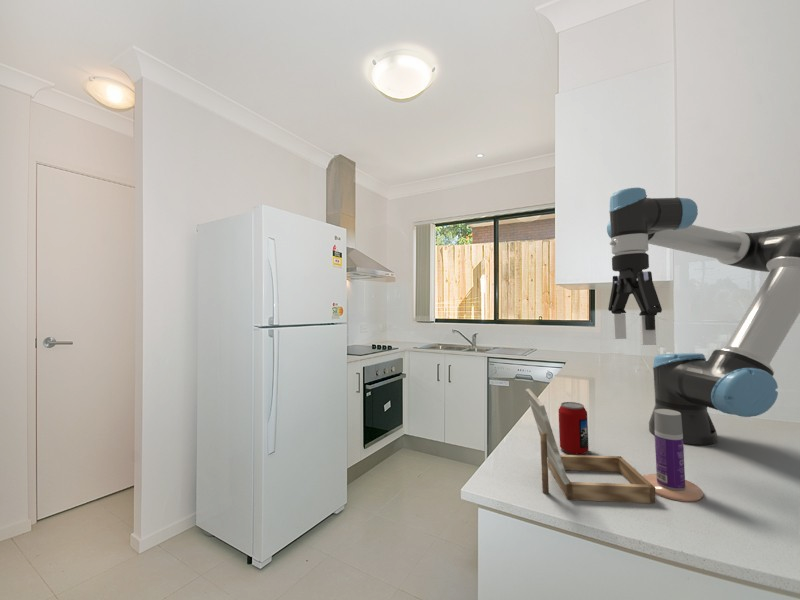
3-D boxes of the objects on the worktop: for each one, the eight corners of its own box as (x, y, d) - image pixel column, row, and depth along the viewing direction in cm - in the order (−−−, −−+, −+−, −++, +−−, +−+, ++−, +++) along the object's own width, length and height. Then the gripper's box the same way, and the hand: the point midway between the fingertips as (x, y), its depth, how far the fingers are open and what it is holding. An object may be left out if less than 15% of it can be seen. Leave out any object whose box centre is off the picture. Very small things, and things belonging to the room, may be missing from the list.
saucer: (682, 477, 78) (682, 474, 78) (716, 502, 68) (715, 499, 68) (632, 475, 79) (632, 473, 79) (658, 500, 69) (658, 497, 69)
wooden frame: (621, 469, 82) (617, 388, 82) (655, 503, 68) (651, 405, 69) (528, 466, 85) (525, 388, 85) (543, 498, 71) (540, 405, 71)
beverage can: (592, 457, 89) (590, 408, 89) (563, 455, 90) (561, 408, 91) (584, 446, 96) (582, 401, 96) (557, 445, 97) (555, 400, 97)
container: (687, 493, 70) (683, 416, 71) (657, 487, 73) (654, 413, 73) (683, 482, 74) (680, 410, 74) (656, 477, 77) (652, 407, 77)
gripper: (593, 260, 100) (596, 336, 100) (639, 247, 75) (644, 348, 75) (621, 259, 99) (625, 336, 99) (679, 245, 74) (683, 347, 74)
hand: (633, 341), depth 87 cm, fingers open, 13 cm apart
